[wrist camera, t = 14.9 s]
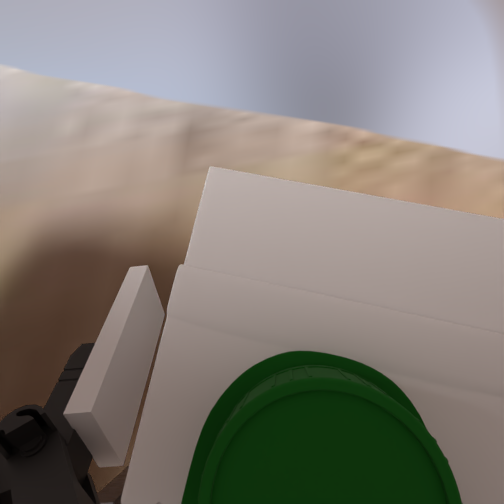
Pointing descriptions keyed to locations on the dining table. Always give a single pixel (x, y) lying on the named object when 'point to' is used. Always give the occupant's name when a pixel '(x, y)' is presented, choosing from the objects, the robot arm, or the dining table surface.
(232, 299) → the soya milk
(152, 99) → the dining table surface
